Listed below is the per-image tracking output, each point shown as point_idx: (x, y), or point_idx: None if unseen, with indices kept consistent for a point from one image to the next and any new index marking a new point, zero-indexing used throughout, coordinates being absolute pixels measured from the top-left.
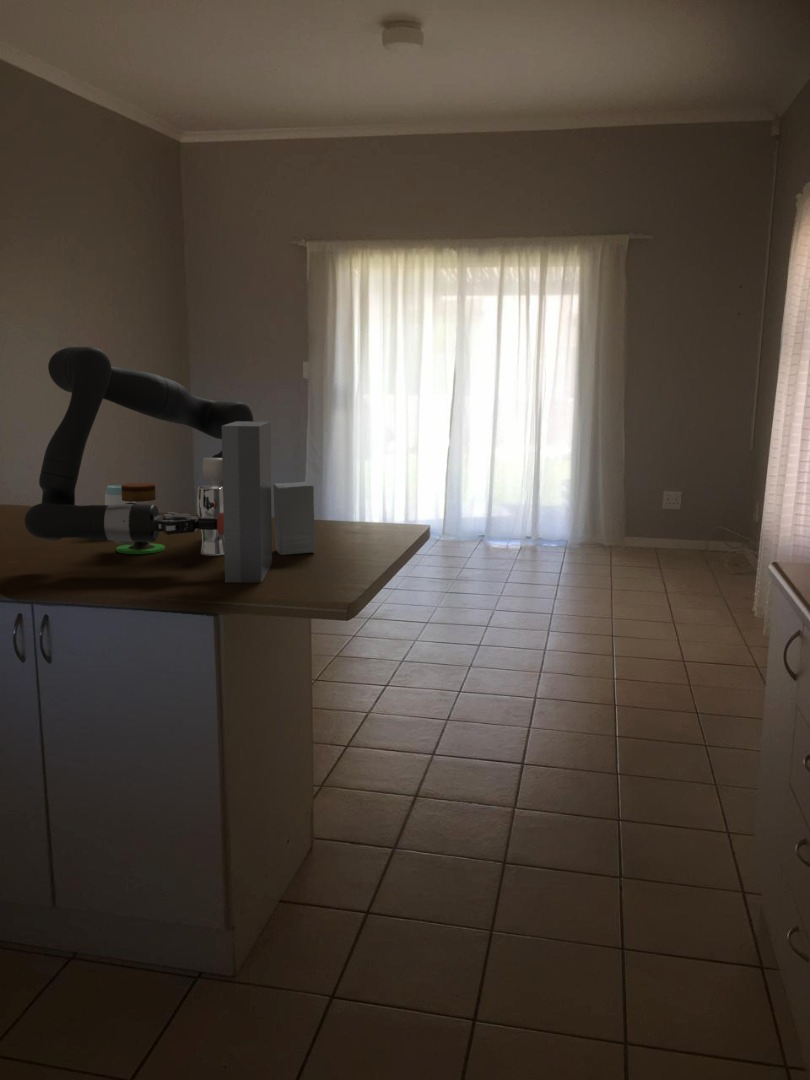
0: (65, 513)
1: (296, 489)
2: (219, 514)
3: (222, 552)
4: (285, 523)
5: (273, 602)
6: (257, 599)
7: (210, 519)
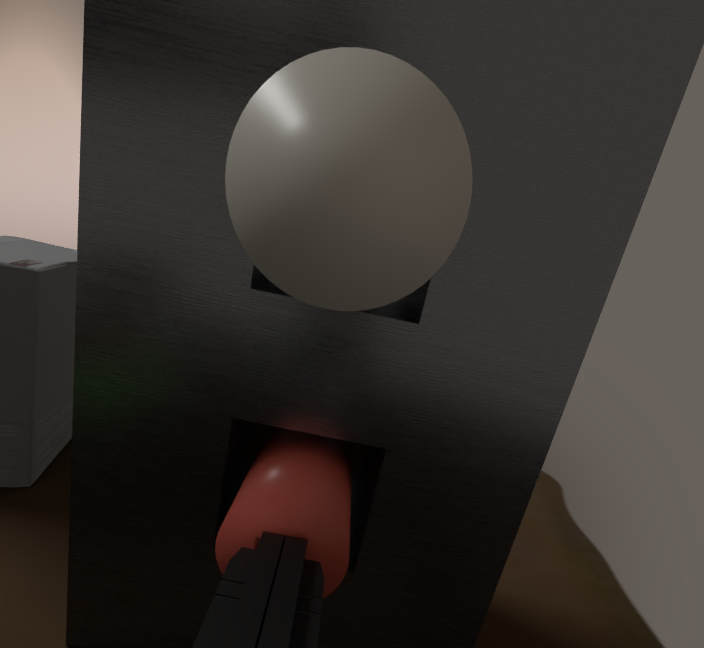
0: None
1: (75, 269)
2: (323, 502)
3: None
4: (49, 384)
5: (595, 562)
6: (597, 596)
7: (298, 583)
